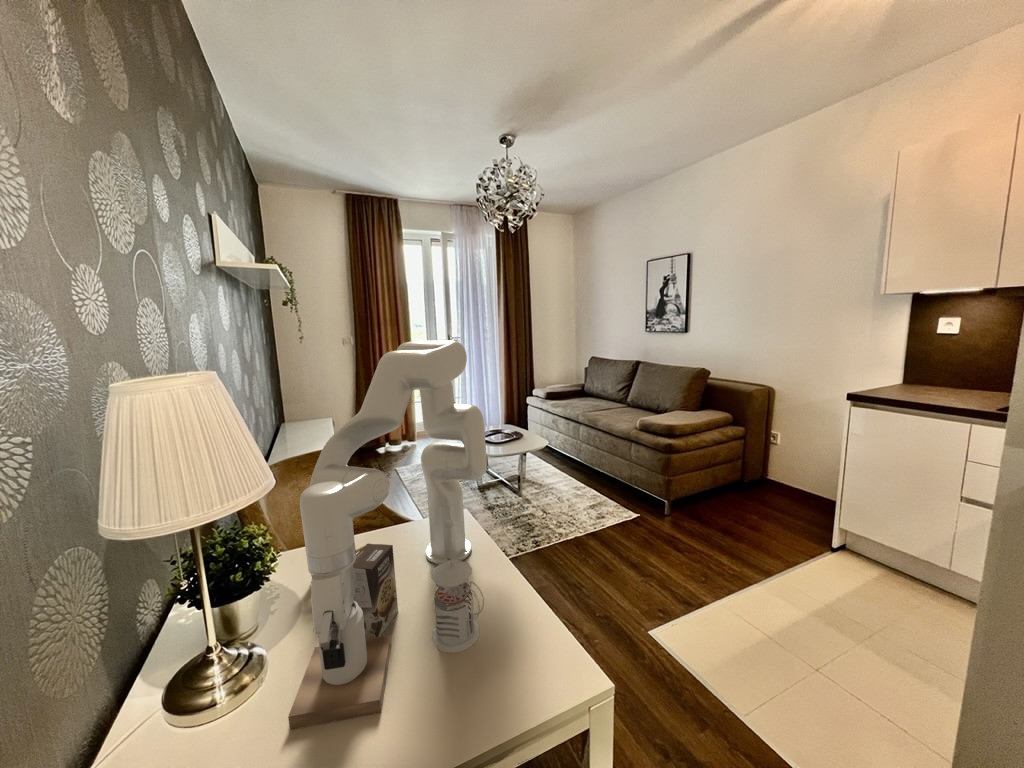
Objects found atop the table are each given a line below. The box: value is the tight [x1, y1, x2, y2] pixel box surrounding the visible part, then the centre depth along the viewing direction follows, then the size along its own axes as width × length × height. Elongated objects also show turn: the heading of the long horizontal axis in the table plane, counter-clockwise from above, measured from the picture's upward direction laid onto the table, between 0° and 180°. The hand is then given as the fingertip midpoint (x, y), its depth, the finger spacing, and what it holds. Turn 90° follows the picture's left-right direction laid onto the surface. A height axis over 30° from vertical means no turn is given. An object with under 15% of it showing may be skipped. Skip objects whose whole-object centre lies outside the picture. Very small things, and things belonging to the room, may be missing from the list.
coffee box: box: [353, 543, 399, 639], centre depth 85 cm, size 9×6×16 cm
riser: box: [287, 634, 392, 731], centre depth 72 cm, size 14×14×2 cm
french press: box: [431, 520, 485, 653], centre depth 80 cm, size 10×12×25 cm
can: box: [316, 601, 367, 685], centre depth 71 cm, size 8×8×12 cm
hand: (342, 643), depth 71 cm, fingers open, 9 cm apart
